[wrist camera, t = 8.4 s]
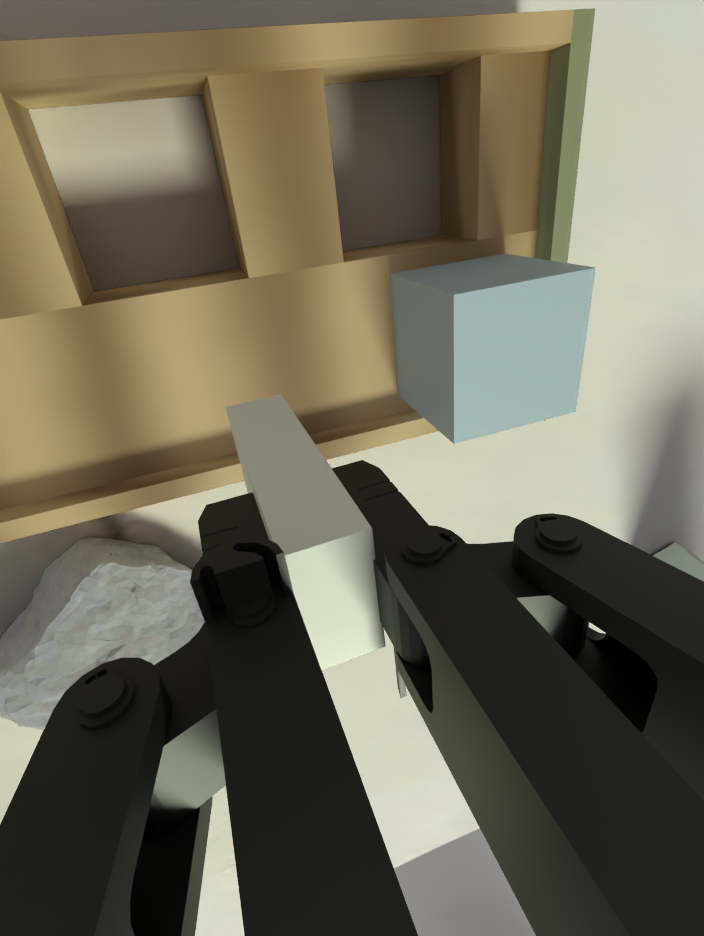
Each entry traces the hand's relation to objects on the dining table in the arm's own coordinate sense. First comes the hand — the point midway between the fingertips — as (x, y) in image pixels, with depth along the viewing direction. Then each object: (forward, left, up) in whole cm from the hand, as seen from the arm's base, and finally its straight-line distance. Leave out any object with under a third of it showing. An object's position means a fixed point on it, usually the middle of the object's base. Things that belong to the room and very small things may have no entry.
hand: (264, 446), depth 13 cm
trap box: (+2, +3, -9) cm, 10 cm away
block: (+9, 0, -6) cm, 11 cm away
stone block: (-8, -13, -10) cm, 18 cm away
